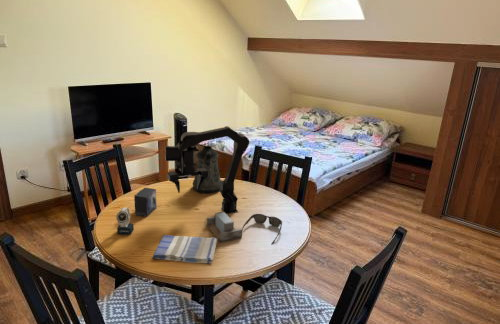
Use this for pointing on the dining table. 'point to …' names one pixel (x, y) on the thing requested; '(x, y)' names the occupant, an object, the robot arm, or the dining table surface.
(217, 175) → the beer stein
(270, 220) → the sunglasses
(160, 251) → the dish towel
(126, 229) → the watch
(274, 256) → the dining table surface
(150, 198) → the small box
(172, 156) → the robot arm
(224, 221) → the light blue rectangular block
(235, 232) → the cradle
